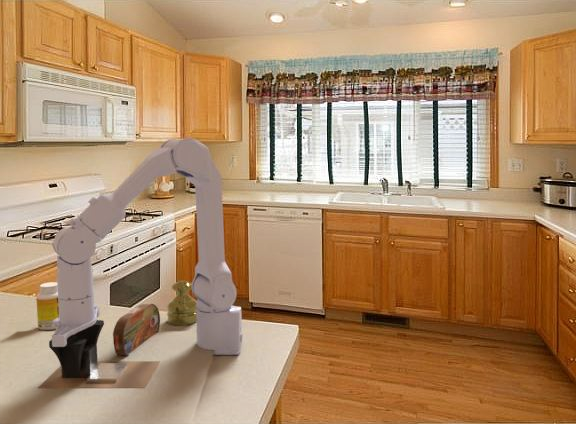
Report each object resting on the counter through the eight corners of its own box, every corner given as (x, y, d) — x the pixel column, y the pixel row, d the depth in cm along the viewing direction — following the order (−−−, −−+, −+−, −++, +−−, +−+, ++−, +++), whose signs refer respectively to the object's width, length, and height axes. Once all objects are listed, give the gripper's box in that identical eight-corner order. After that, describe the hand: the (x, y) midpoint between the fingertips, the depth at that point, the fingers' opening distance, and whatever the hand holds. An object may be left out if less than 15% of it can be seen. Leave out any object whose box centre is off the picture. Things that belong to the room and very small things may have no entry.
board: (160, 367, 87) (160, 361, 87) (145, 394, 77) (144, 387, 77) (65, 367, 87) (65, 361, 86) (37, 394, 77) (37, 388, 77)
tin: (125, 364, 88) (123, 322, 87) (110, 363, 89) (109, 321, 88) (162, 335, 103) (160, 299, 102) (149, 334, 103) (147, 298, 102)
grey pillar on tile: (127, 366, 85) (126, 340, 84) (116, 381, 79) (115, 354, 78) (73, 366, 85) (72, 340, 84) (58, 382, 79) (56, 354, 78)
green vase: (200, 324, 110) (200, 283, 108) (169, 327, 107) (167, 286, 106) (195, 314, 116) (195, 276, 115) (165, 317, 114) (164, 278, 113)
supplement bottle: (61, 330, 105) (58, 287, 104) (34, 331, 104) (32, 288, 103) (67, 321, 111) (65, 280, 109) (42, 323, 109) (39, 281, 108)
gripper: (72, 283, 87) (75, 351, 89) (30, 309, 73) (35, 389, 74) (109, 283, 87) (112, 351, 89) (75, 309, 73) (79, 389, 74)
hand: (80, 369), depth 81 cm, fingers open, 5 cm apart
